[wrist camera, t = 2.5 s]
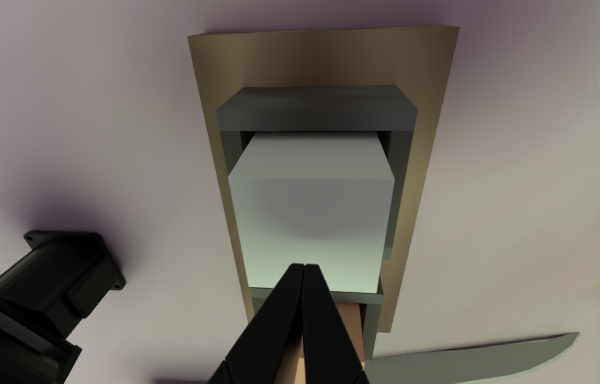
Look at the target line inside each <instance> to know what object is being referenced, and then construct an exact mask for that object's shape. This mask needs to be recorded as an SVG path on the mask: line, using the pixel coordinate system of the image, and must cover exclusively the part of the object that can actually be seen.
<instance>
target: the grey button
mask: <svg viewBox="0 0 600 384" xmlns="http://www.w3.org/2000/svg"><path fill="white" fill-rule="evenodd" d="M228 180H229V186H230V191H231V196H232V201H233V207H234V212H235V217H236V222H237V228H238V233H239V238H240V243H241V249H242V254H243V259H244V264H245V270H246V275H247V280H248V285H249V287H263V288H274V287H275V285H276V284H277V283H278V281H279V280H280V278H281V277H282V275H283V274H284V273H285V271H286V270H287V268H288V267H289V265H290V264H291V263H303V264H304V265H305V264H307V263H309V264H318V265H319V266H320V268H321V271H322V273H323V275H324V278H325V280H326V282H327V285H328V287H329V289H330V291H343V292H363V293H376V292H377V286H378V280H379V273H380V267H381V261H382V255H383V249H384V243H385V237H386V231H387V224H388V218H389V212H390V206H391V200H392V194H393V188H394V182H395V179H394V176H393V174H392V171H391V169H390V166H389V164H388V161H387V158H386V156H385V153H384V151H383V148H382V146H381V143H380V141H379V138H378V135H377V133H376V132H256V133H255V135H254V136H253V138H252V139H251V141H250V143H249V144H248V146H247V147H246V149H245V151H244V152H243V154H242V155H241V157H240V159H239V160H238V162H237V163H236V165H235V167H234V168H233V170H232V172H231V173H230V175H229V176H228Z"/></svg>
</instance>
